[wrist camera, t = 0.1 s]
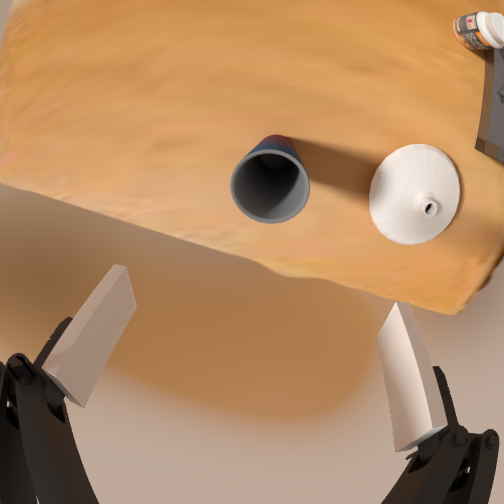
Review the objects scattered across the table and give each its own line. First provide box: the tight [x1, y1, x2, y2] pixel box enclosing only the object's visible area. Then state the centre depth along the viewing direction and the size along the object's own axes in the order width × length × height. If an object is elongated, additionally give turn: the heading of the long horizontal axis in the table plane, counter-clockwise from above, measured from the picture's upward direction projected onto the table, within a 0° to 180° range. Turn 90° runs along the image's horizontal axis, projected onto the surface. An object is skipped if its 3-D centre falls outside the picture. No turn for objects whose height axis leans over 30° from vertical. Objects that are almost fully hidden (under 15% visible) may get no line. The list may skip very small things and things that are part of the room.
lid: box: [369, 144, 460, 245], centre depth 32 cm, size 16×16×7 cm
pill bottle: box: [453, 11, 504, 50], centre depth 15 cm, size 6×6×10 cm
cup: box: [230, 135, 310, 224], centre depth 29 cm, size 7×7×15 cm
